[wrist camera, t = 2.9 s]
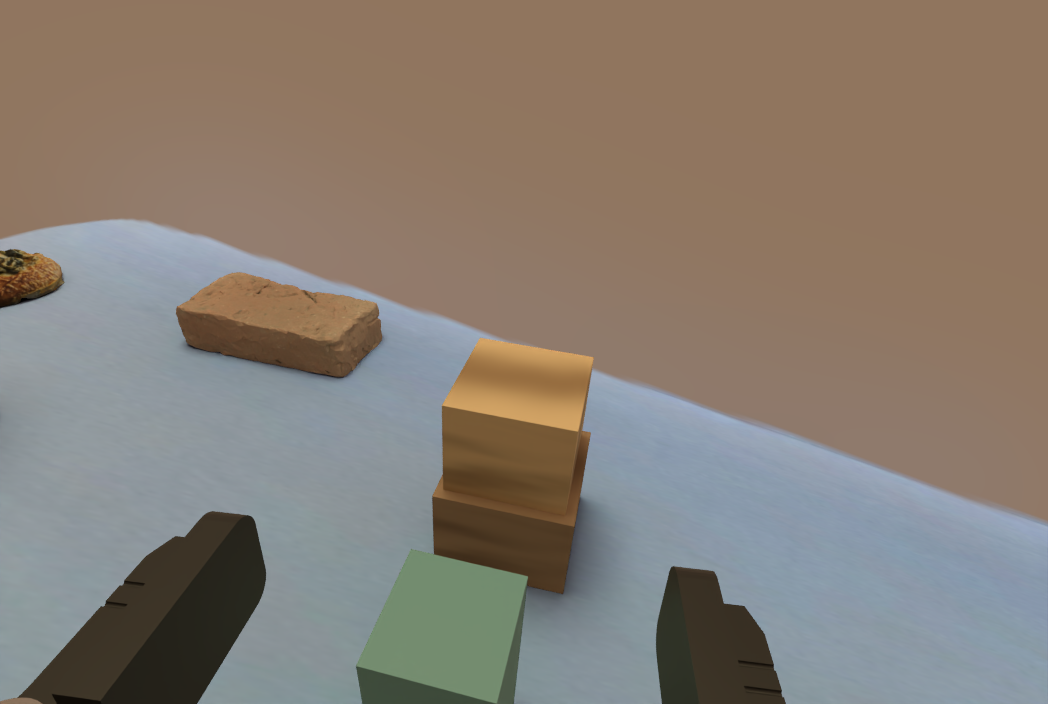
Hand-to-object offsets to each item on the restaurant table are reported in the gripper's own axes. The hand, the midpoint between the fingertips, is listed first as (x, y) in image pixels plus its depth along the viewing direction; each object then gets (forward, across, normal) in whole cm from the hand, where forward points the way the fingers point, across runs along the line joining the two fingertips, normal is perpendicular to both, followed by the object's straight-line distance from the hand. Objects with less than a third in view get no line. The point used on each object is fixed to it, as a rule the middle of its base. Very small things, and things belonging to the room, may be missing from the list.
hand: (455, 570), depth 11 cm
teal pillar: (+7, +2, +20) cm, 21 cm away
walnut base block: (+20, +1, +19) cm, 28 cm away
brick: (+39, +25, +17) cm, 49 cm away
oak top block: (+20, 0, +13) cm, 24 cm away
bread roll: (+43, +58, +16) cm, 73 cm away
